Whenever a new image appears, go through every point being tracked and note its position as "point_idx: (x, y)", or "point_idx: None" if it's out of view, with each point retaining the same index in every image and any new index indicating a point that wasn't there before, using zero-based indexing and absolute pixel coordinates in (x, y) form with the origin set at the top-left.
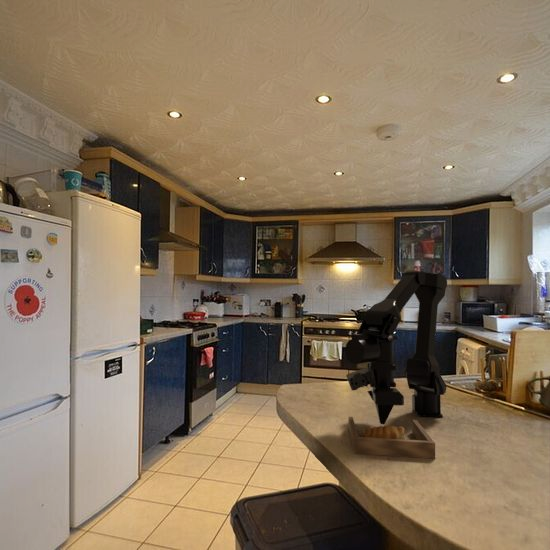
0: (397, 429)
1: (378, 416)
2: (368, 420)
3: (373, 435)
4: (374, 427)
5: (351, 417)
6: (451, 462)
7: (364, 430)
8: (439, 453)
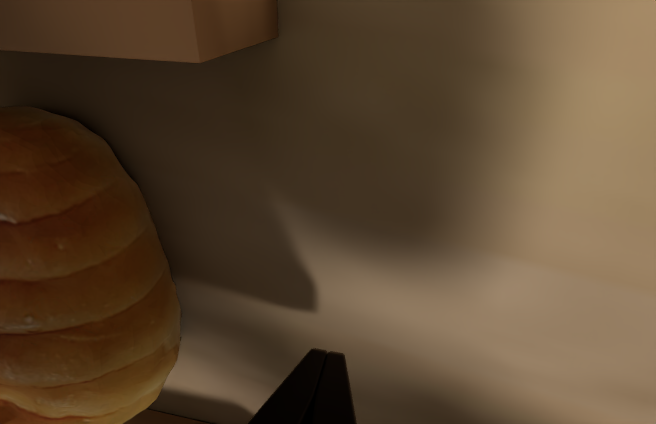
0: (7, 401)
1: (322, 403)
2: (601, 288)
3: None
4: (25, 265)
5: (153, 29)
6: None
7: (29, 153)
8: None
